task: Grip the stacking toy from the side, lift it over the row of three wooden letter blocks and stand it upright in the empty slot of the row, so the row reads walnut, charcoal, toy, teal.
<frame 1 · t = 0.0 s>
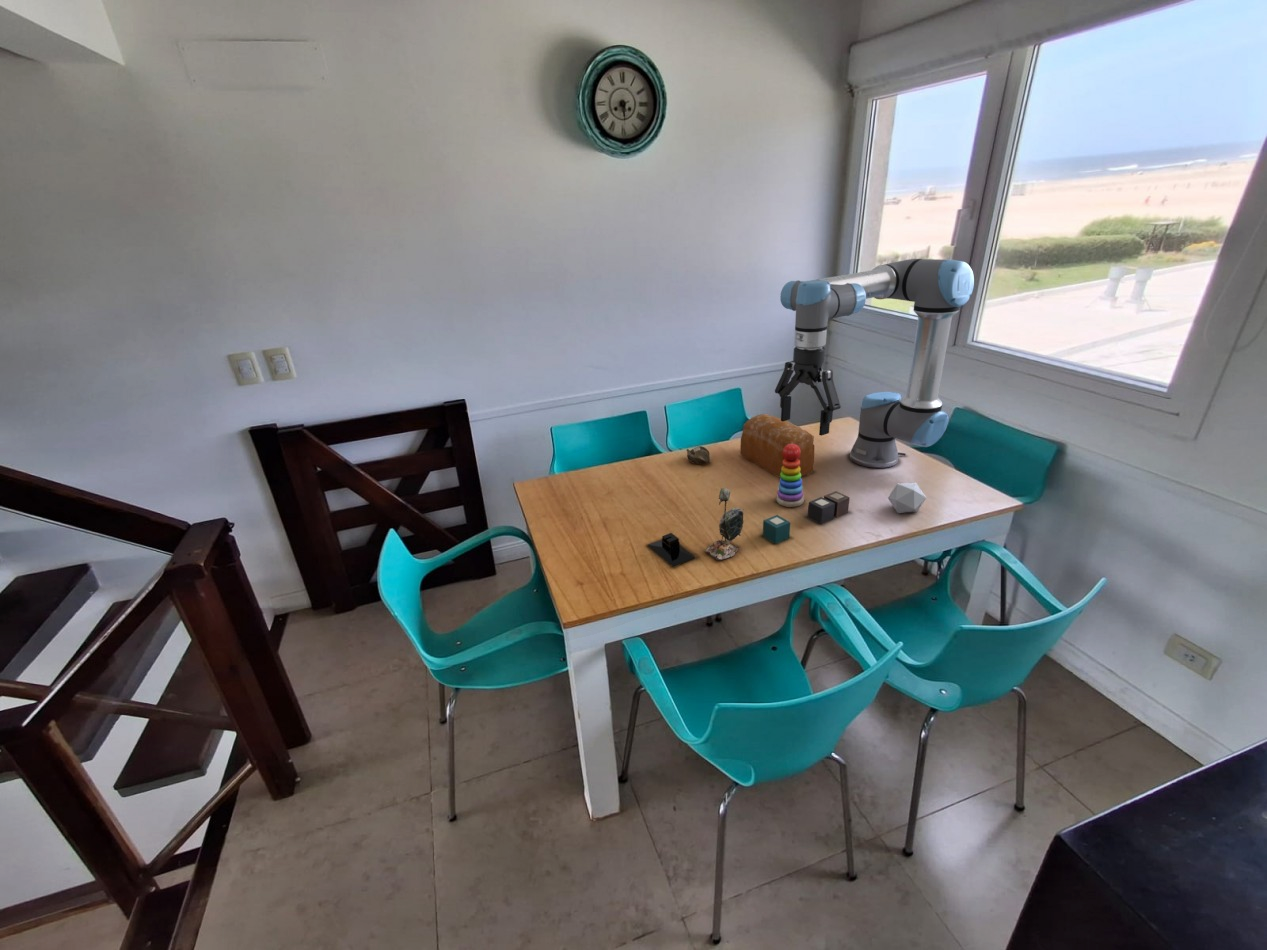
hand: (804, 426, 147), 28 cm above the table, tool pointing down, fingers open, 13 cm apart
teal block: (775, 537, 151), on the table
build plate: (671, 552, 148), on the table
bread: (775, 464, 193), on the table
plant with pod: (725, 550, 147), on the table
charcoal block: (820, 518, 159), on the table
walnut block: (835, 511, 161), on the table
stacking toy: (789, 502, 168), on the table
die: (904, 510, 159), on the table
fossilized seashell: (698, 462, 199), on the table
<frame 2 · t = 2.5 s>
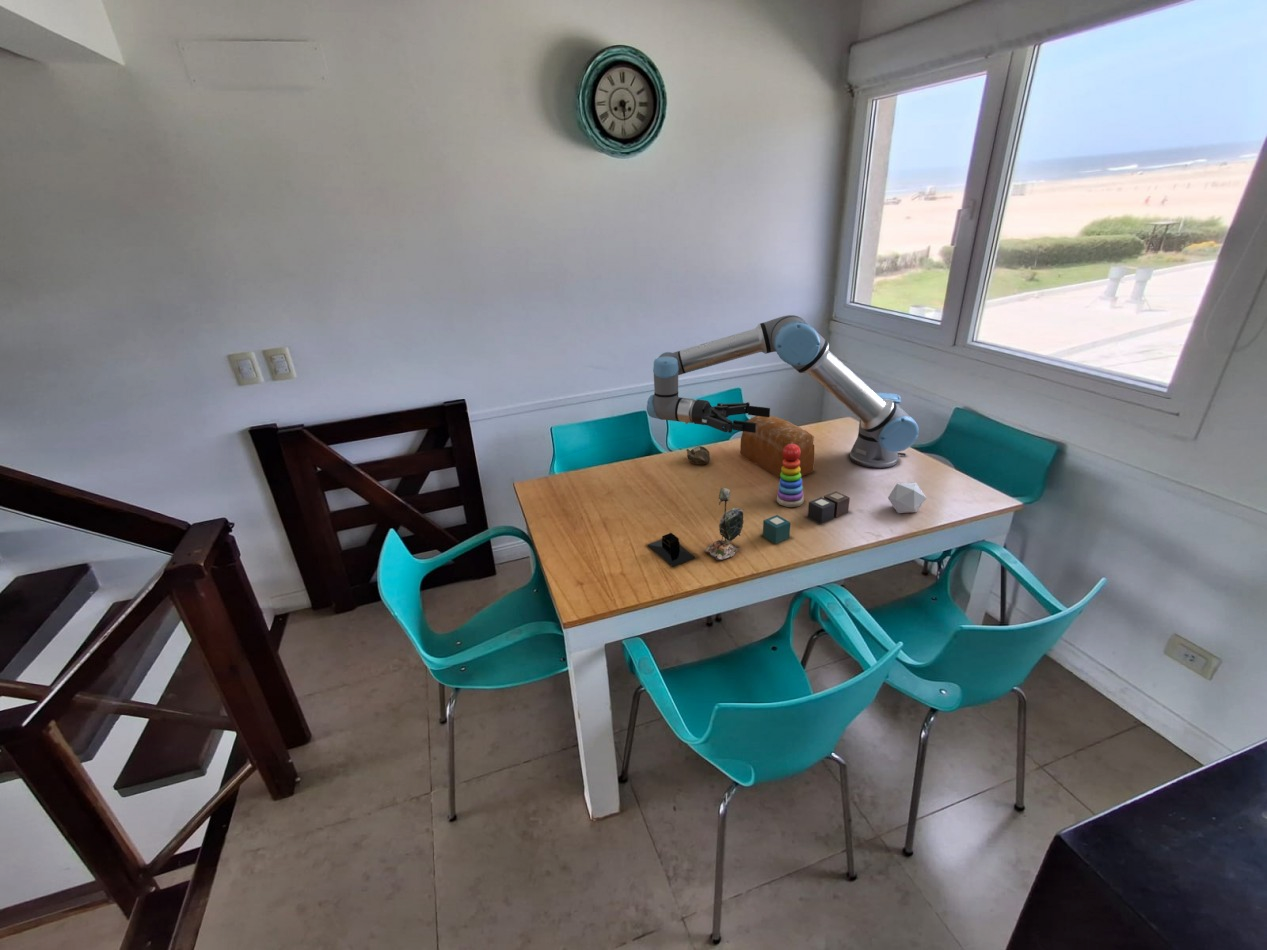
hand: (763, 420, 161), 25 cm above the table, tool horizontal, fingers open, 13 cm apart
nothing on the table moved.
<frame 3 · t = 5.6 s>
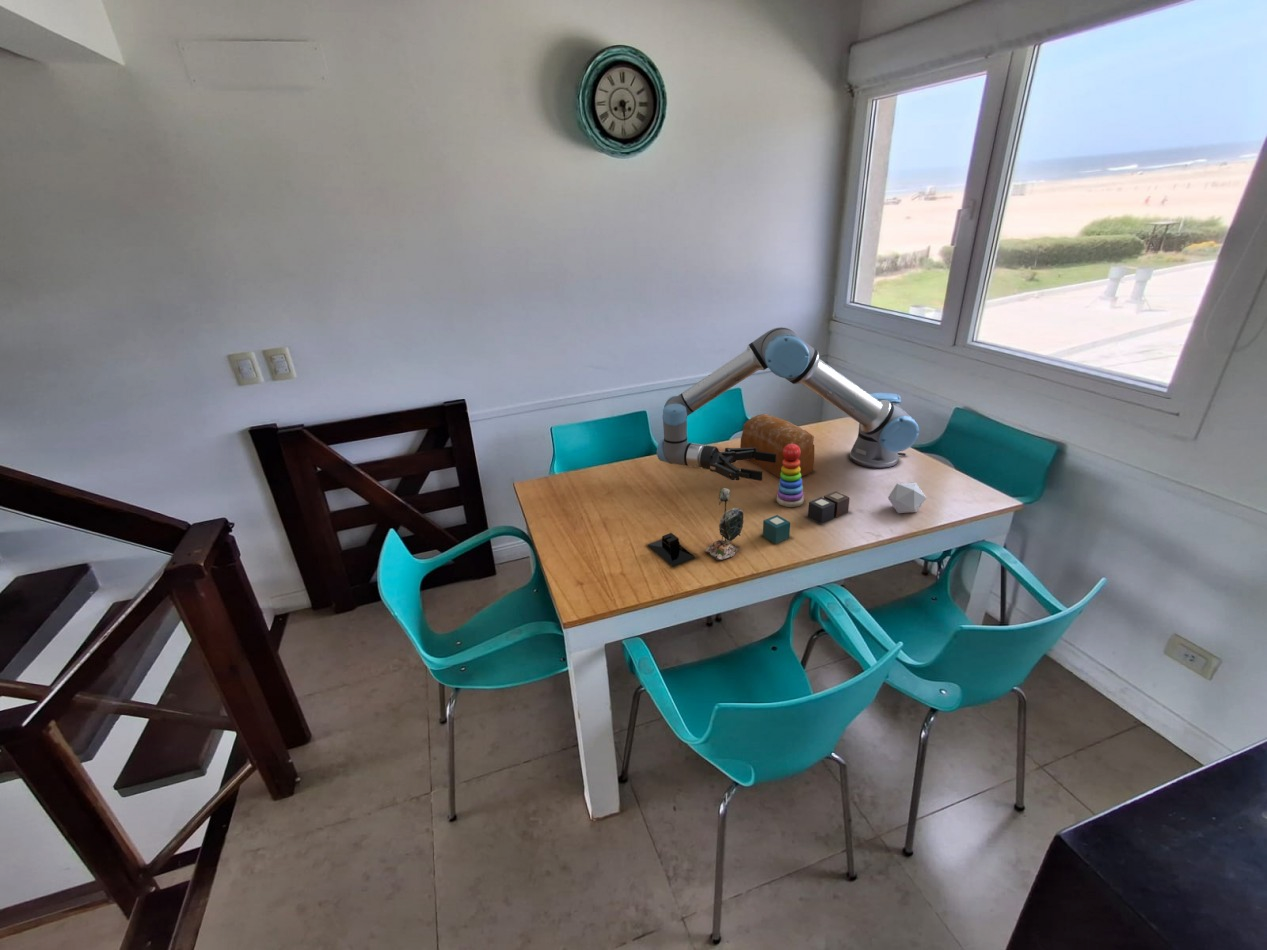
hand: (769, 467, 167), 11 cm above the table, tool horizontal, fingers open, 13 cm apart
nothing on the table moved.
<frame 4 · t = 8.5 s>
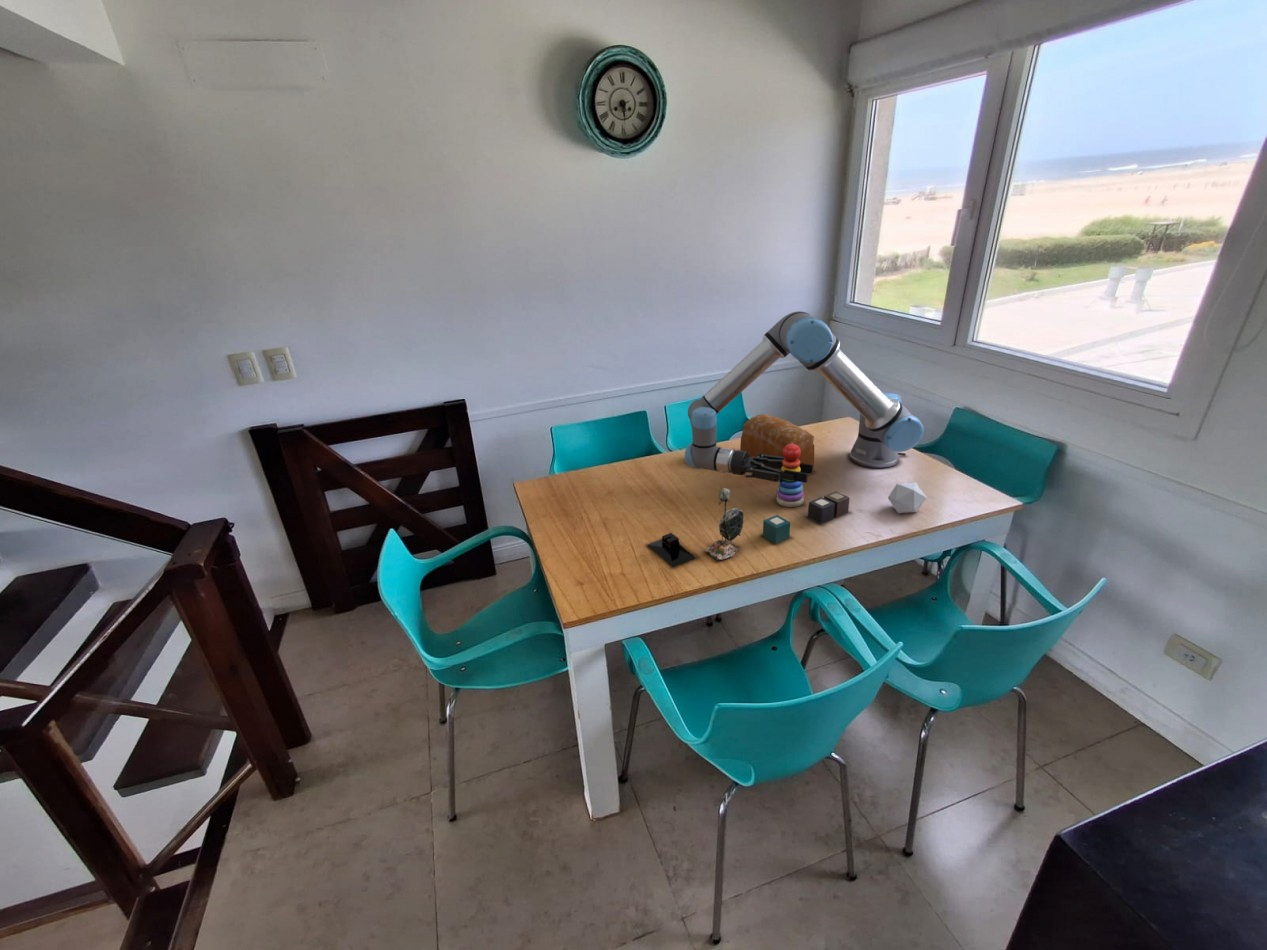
hand: (809, 473, 161), 10 cm above the table, tool horizontal, fingers closed on stacking toy, 6 cm apart
stacking toy: (789, 502, 168), on the table, touching gripper
everything else where it was.
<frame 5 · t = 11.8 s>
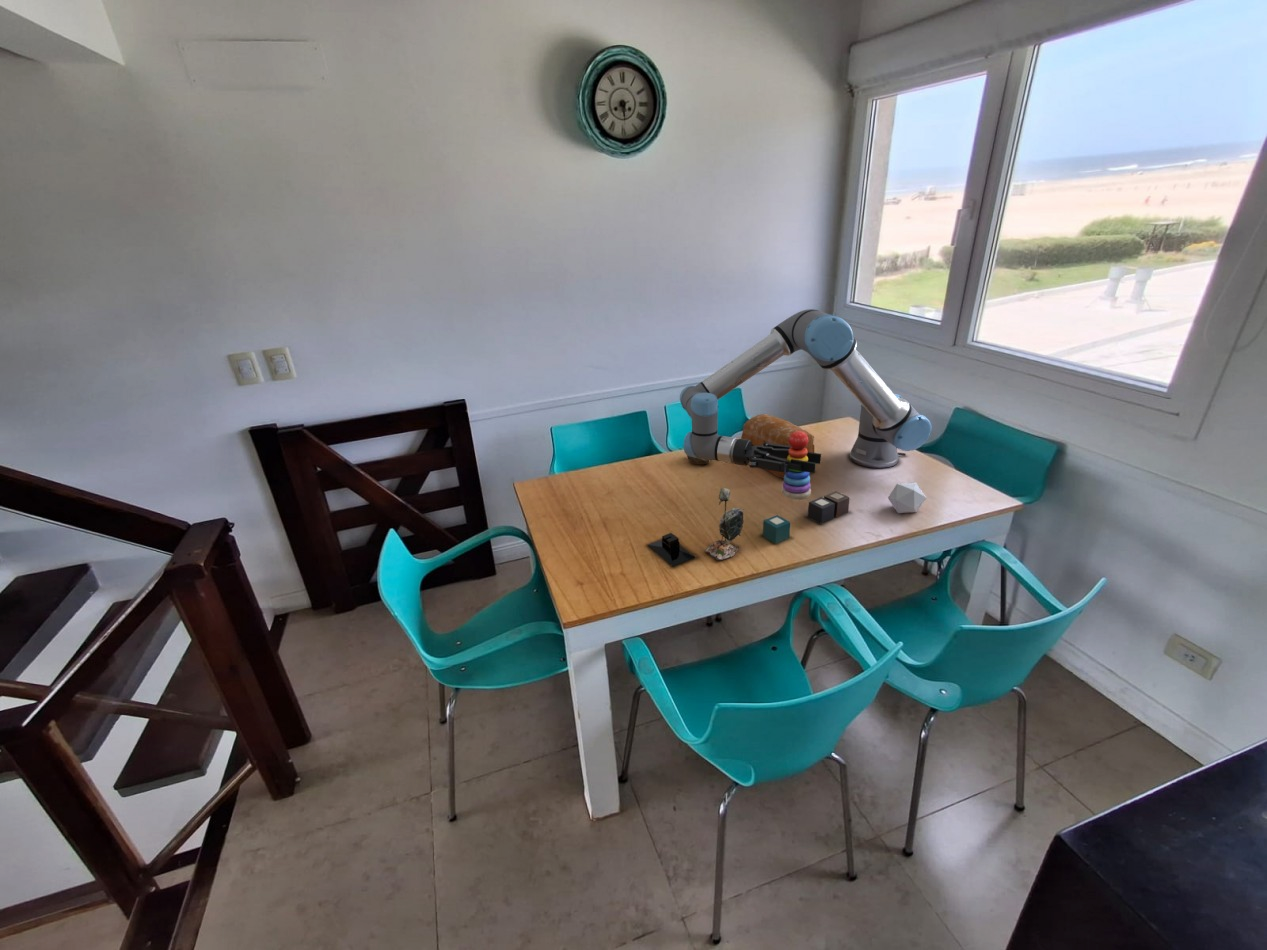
hand: (817, 463, 150), 18 cm above the table, tool horizontal, fingers closed on stacking toy, 6 cm apart
stacking toy: (796, 494, 157), point 7 cm above the table, touching gripper
everything else where it was.
when the fingers open (10 cm above the table, at t = 15.0 s): stacking toy stays where it is, on the table.
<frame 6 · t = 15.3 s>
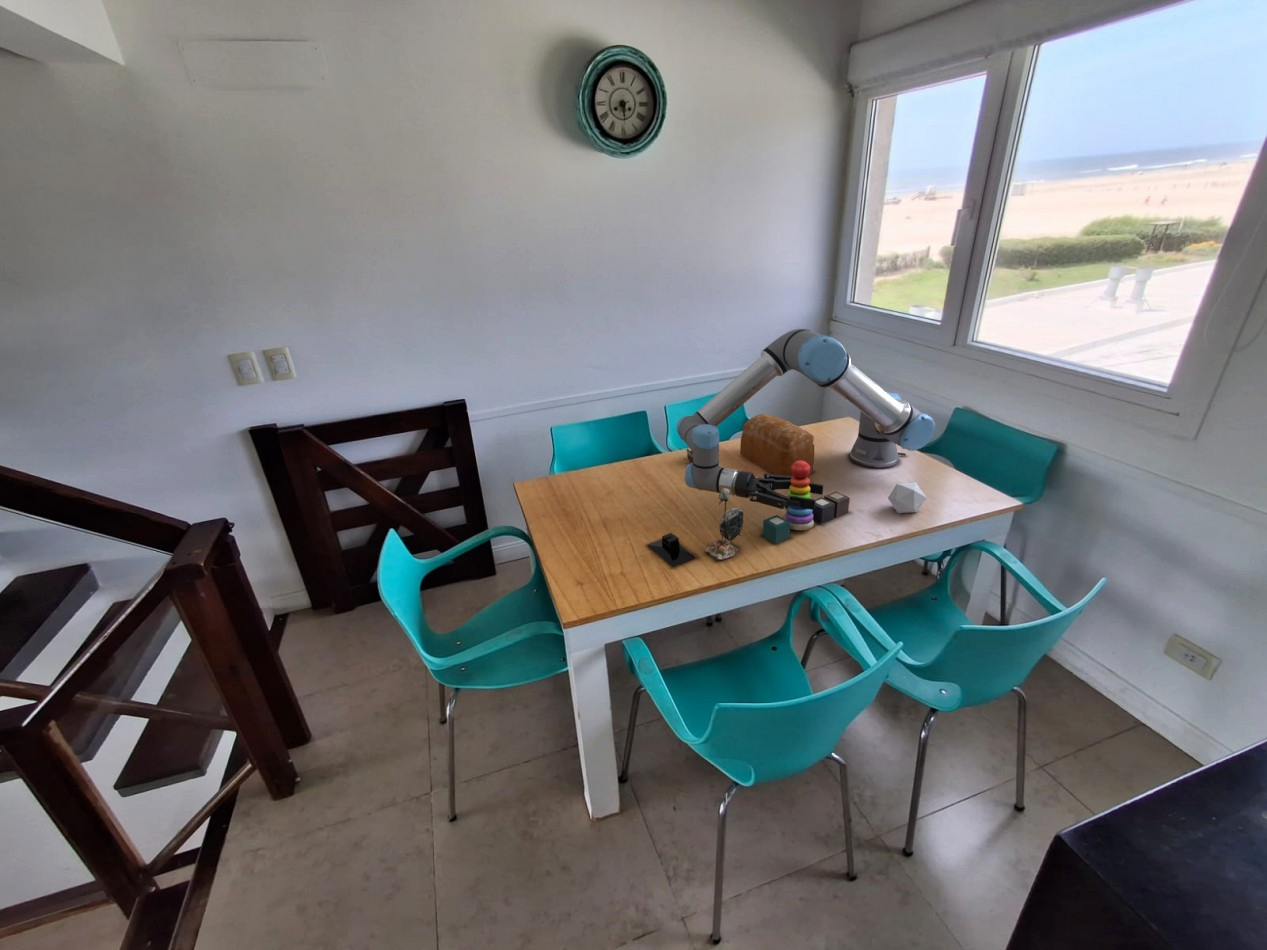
hand: (818, 497, 148), 10 cm above the table, tool horizontal, fingers open, 8 cm apart
stacking toy: (798, 526, 155), on the table, touching gripper
everything else where it was.
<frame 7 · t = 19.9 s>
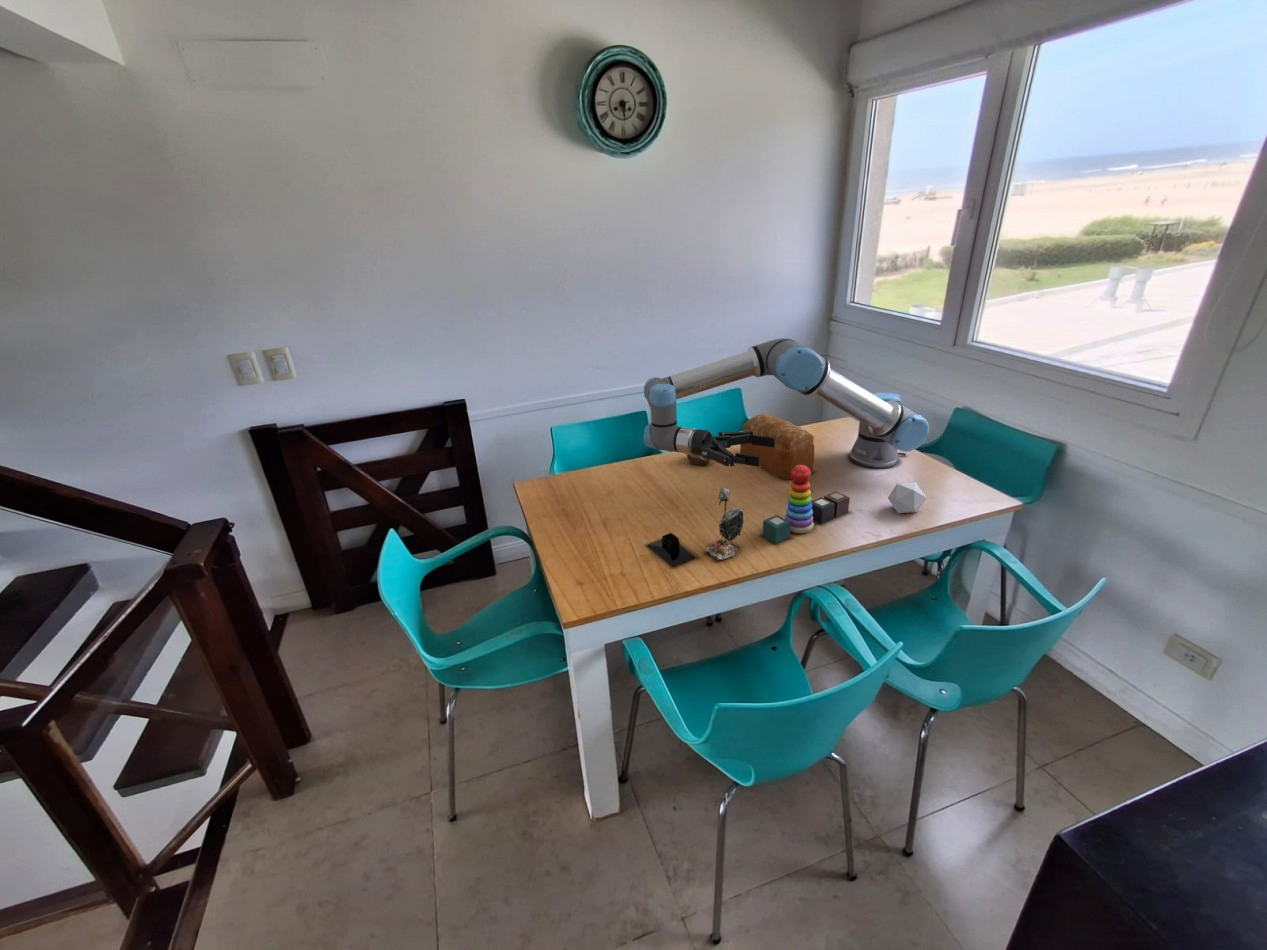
hand: (767, 451, 150), 21 cm above the table, tool horizontal, fingers open, 13 cm apart
stacking toy: (798, 527, 155), on the table
everything else where it was.
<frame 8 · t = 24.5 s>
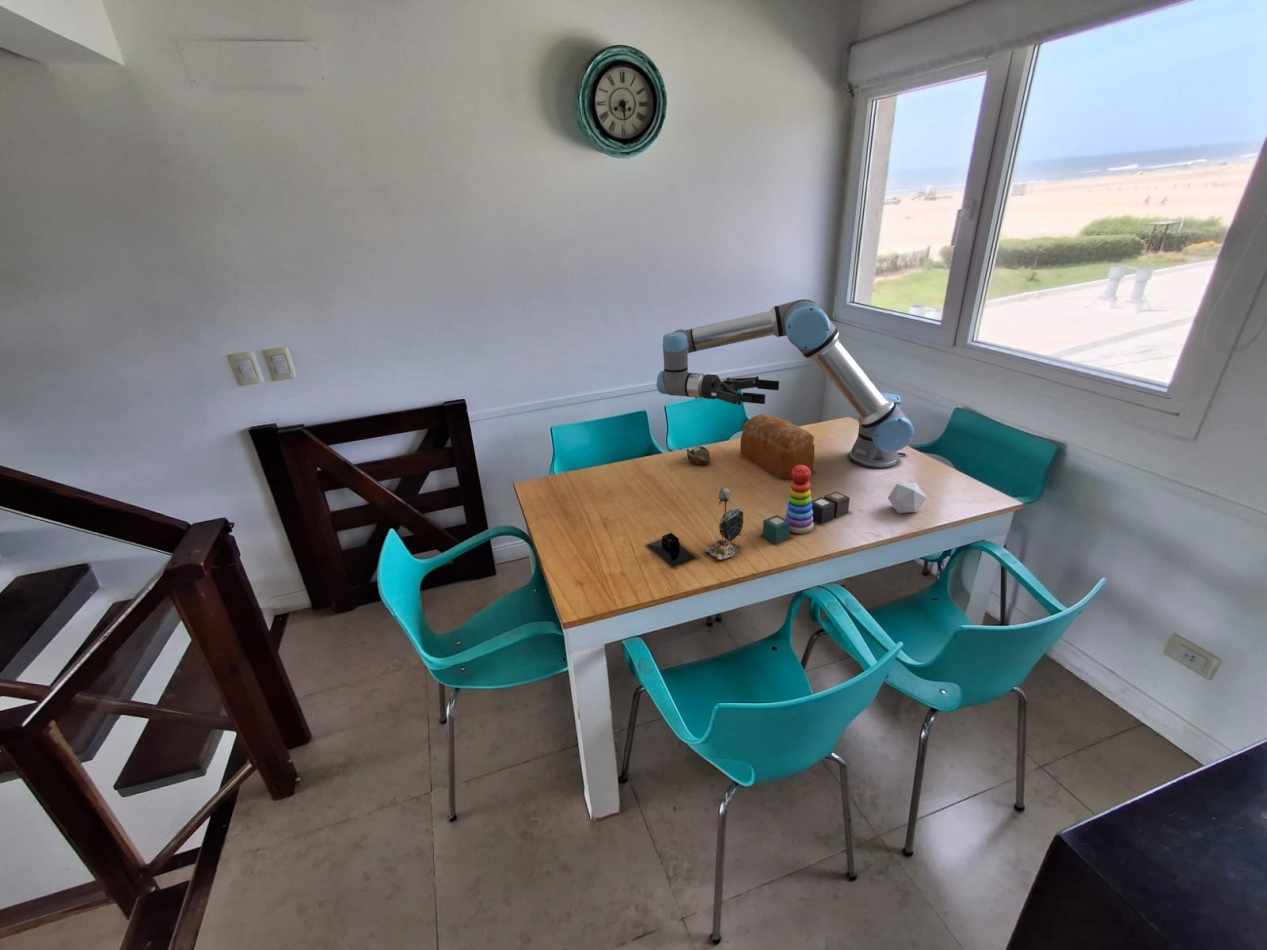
hand: (772, 392, 163), 32 cm above the table, tool horizontal, fingers open, 13 cm apart
nothing on the table moved.
at the end: stacking toy 0.0 cm from the target spot, on the table; stacking toy tilted 0°; teal block moved 0.0 cm from its start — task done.
